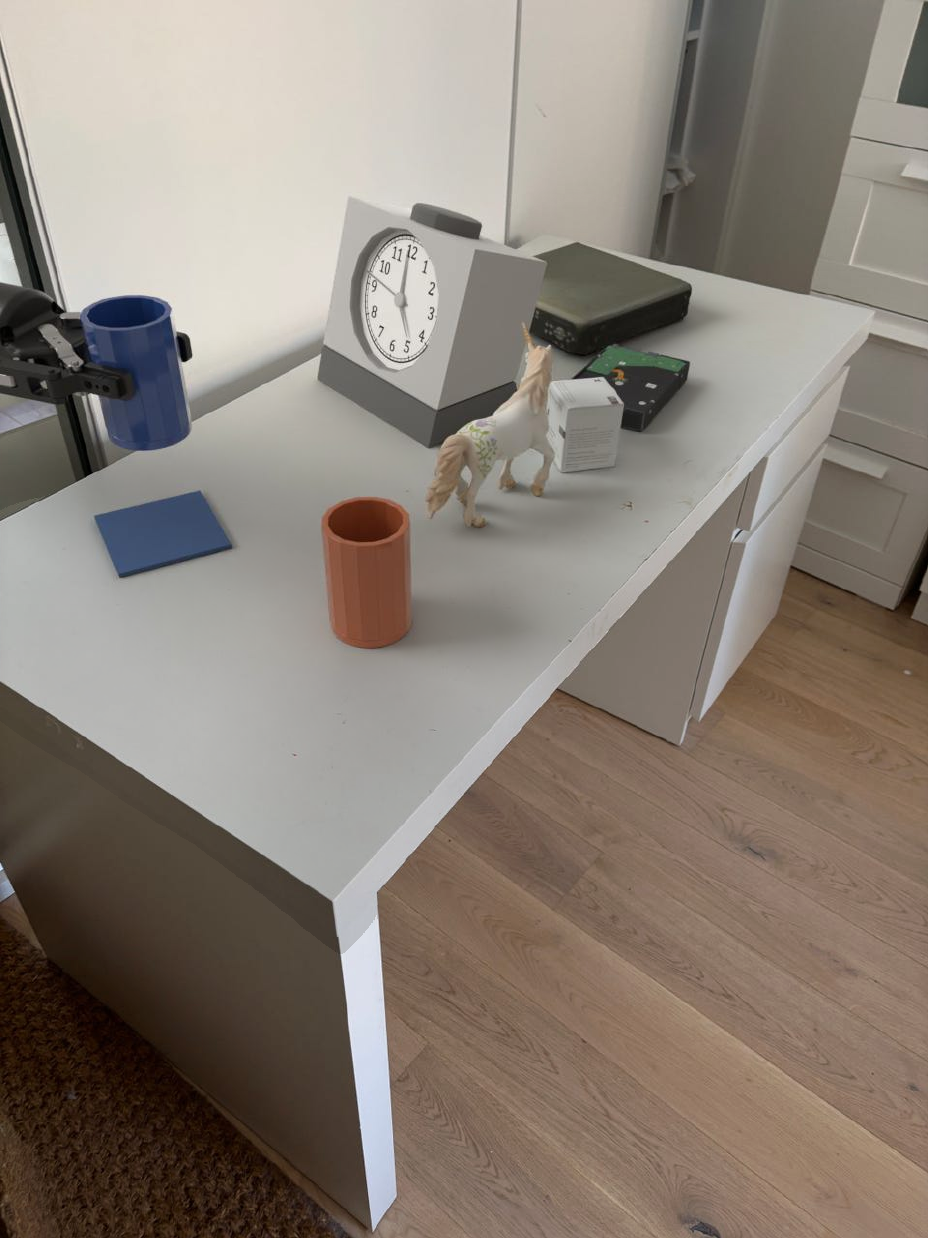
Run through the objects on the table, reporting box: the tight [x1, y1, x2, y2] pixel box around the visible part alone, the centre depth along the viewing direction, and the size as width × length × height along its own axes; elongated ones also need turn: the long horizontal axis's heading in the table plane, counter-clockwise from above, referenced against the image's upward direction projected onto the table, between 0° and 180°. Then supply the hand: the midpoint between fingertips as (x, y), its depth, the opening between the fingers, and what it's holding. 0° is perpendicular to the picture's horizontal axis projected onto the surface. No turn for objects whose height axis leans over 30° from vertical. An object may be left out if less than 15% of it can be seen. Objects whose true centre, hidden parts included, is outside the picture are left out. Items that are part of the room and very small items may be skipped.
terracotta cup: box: [320, 496, 413, 649], centre depth 76 cm, size 7×7×10 cm
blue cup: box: [79, 294, 193, 452], centre depth 76 cm, size 7×7×10 cm
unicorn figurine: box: [425, 322, 555, 528], centre depth 90 cm, size 7×20×13 cm, turn 151°
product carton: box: [546, 377, 624, 473], centre depth 98 cm, size 6×6×7 cm
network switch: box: [529, 241, 693, 356], centre depth 127 cm, size 23×24×5 cm
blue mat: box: [93, 490, 233, 578], centre depth 88 cm, size 10×10×1 cm
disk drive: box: [570, 343, 691, 432], centre depth 110 cm, size 10×3×15 cm
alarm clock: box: [316, 195, 547, 449], centre depth 104 cm, size 20×16×20 cm
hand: (160, 366), depth 74 cm, fingers closed on blue cup, 6 cm apart
